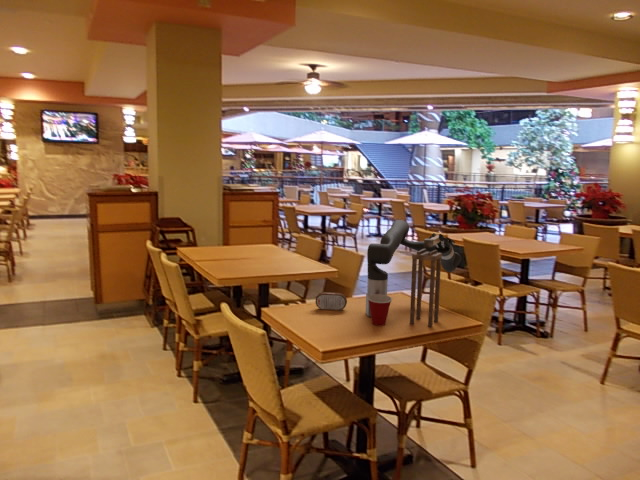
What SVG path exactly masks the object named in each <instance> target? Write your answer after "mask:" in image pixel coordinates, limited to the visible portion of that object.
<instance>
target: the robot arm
mask: <svg viewBox="0 0 640 480" xmlns="http://www.w3.org/2000/svg"><path fill="white" fill-rule="evenodd" d="M409 231H410V225H409V223H408V222H406V220H402V219H395V220H394V221H393V222H392V224H391V227H390V228H389V229H388V230H387V231H386V232H385V233H384V234H383V235H382V236H381V238H380V241H379V242H380V243H369V245H368V247H367V252H366V253H367V254H366V255H367V256H366V257H367V258H366V259H367V285H366V287H367V289H366V294H365V314H366V316H367V317H369V318H370V317H371V313H370V305H369V300H368V298H367V297H368V296H369V295H373V294H381V295H387V296H388V286H389V285H388V284H389V283H388V282H389V280H388V279H389V278H388V277H389V273H388V272H387V271H385V270H383V269H381V268H379V267H378V266H377V265H388V264H390V262H391V261H392V258H393V256H394V254H395V252H396V250H397V249H398V248H399V247H400V245H402V246H404V247H407V248H409V249H411V250H413V251H416V252H418V251H420V250H422V249H426V252H431V251H433V250H437V253H442V258H441V268H442V269H443V270H444V271H446V272H448V273H452V272H455V270H456V269H457V267H458V266H459V265H460V263H461V260H462V256H461V255H460V253H458V252H457V251H454V247H455V245H456V241H455V240H453V239H452V238H450V237H448V236H447V237H445V236H444V235H443V234H442V233H438V235H439V239H440V242H439V243H437V244H435V245H433V247H424V240H423V241H419V240H418V241H415V240H414V241H412V240H409V239H407V235H408V233H409ZM436 235H437V234H436V233H435V232H433V233H432V234H431V235H430V236H429V237H428V239H431V238H432V237H435V236H436ZM435 262H437V260H436V261H435Z"/></svg>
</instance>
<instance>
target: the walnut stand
mask: <svg viewBox="0 0 640 480" xmlns="http://www.w3.org/2000/svg"><path fill="white" fill-rule="evenodd" d="M441 258H442V253H437V250H433V251H431V252H426V249H422V250H420V251H416V252H414V253H412V254H411V260H412V261H411V285H410V286H411V287H410V310H409V314H410V315H409V324H410V325H415V319H416V320H420V319H421V315H422V313H421V312H422V288H423V267H424V265H423V264H424V263H423V262H424V261H430V275H429V295H428V296H429V297H428V299H429V300H428V319H427V320H428V322H427V328H432V327H433V322H434V323H438V322H439V310H440V294H441V293H440V292H441V291H440V290H441V269H442V265H441ZM436 260H437V261H436ZM417 262H418V264H417ZM417 265H418V266H417ZM417 267H418V268H417ZM417 270H418V271H417ZM416 283H417V284H416ZM416 288H417V291H416ZM416 294H417V295H416ZM415 309H416V310H415ZM415 311H416V314H415ZM415 315H416V316H415Z"/></svg>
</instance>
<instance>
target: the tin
mask: <svg viewBox="0 0 640 480" xmlns="http://www.w3.org/2000/svg"><path fill="white" fill-rule="evenodd" d="M314 302H315V306H316V307H317V308H318V309H319V310H322V311H336V310H337V312H338V311H343V310H344V309H345V308H346V306H347V304H348V299H347V297H346V296H345V294H343V293H341V292H330V291H329V292H328V291H322V292H319V293H318V294H317V295H316V297H315V301H314Z"/></svg>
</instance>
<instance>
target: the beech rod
mask: <svg viewBox="0 0 640 480" xmlns="http://www.w3.org/2000/svg"><path fill="white" fill-rule="evenodd" d="M423 241H424V247H433V245H435V244H437V243H439V242H440V239H439V234H436V236H435V237H432V238H431V239H429V238H424V240H423Z"/></svg>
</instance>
